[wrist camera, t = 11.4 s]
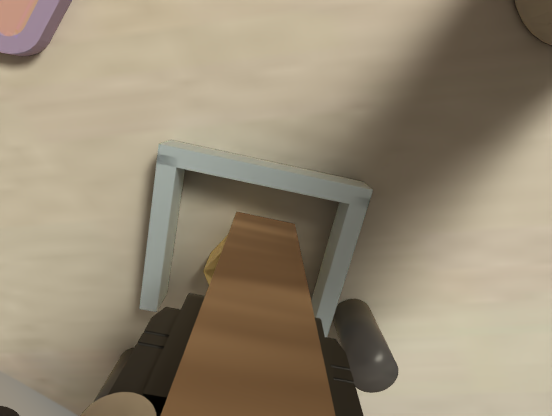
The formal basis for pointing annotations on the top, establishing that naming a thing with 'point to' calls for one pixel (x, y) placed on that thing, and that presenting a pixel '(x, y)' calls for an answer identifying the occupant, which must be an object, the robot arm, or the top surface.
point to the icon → (29, 24)
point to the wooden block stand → (254, 333)
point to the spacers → (354, 340)
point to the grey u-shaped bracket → (259, 172)
